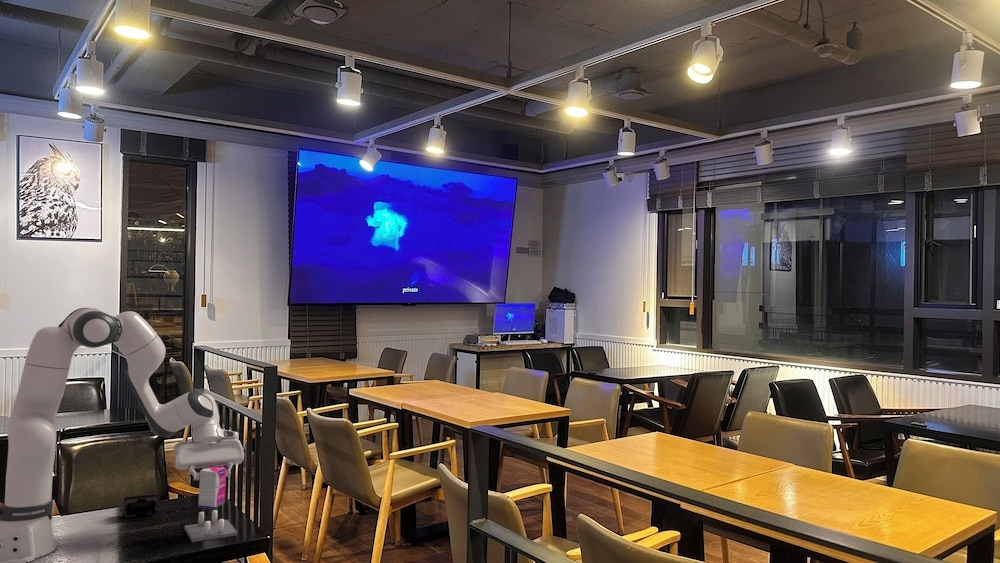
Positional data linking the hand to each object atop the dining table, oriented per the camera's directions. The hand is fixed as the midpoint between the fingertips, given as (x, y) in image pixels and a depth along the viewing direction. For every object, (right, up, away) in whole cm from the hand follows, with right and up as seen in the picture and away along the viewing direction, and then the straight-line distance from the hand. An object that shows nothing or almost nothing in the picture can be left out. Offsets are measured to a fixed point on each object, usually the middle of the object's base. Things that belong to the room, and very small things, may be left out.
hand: (212, 477), depth 221 cm
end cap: (-28, -16, +11) cm, 35 cm away
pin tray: (-1, -17, 0) cm, 17 cm away
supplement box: (0, -9, 0) cm, 9 cm away
